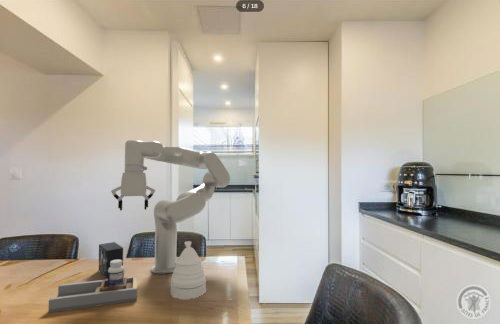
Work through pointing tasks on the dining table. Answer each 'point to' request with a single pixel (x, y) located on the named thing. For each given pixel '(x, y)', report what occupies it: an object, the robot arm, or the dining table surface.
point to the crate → (105, 286)
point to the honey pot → (188, 275)
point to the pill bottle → (116, 273)
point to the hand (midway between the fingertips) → (133, 209)
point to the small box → (109, 256)
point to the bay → (90, 295)
